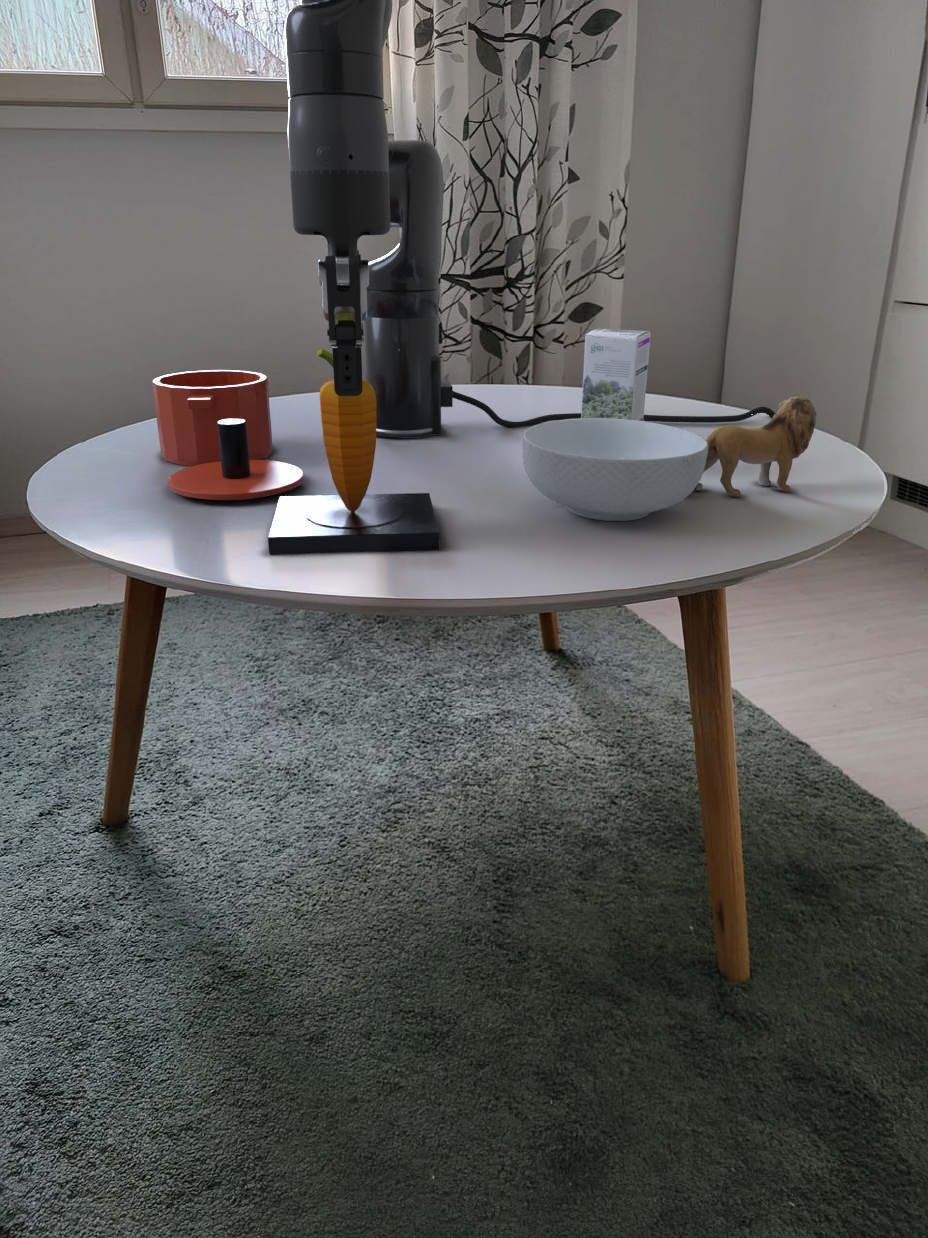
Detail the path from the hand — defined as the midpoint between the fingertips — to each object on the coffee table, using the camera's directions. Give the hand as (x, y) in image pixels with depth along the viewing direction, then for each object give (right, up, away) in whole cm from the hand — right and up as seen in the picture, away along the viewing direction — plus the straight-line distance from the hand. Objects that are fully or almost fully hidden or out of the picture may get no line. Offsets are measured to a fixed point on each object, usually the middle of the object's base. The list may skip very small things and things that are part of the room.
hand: (349, 386), depth 78 cm
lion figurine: (+39, -6, +18) cm, 43 cm away
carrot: (0, -10, +4) cm, 11 cm away
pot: (-19, 0, +31) cm, 36 cm away
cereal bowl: (+23, -9, +11) cm, 27 cm away
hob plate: (0, -11, +5) cm, 12 cm away
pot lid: (-14, -5, +17) cm, 23 cm away
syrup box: (+26, -3, +26) cm, 37 cm away
